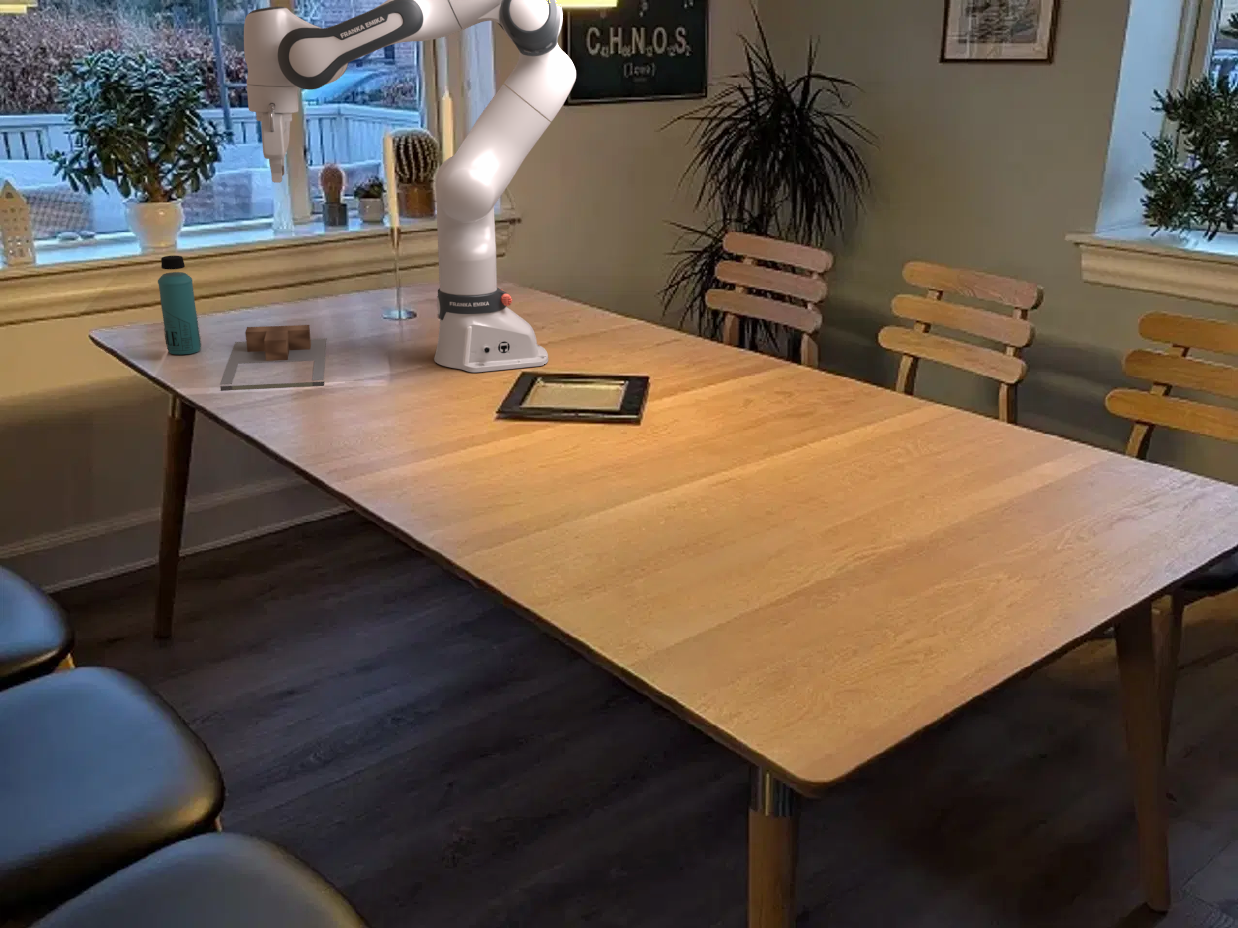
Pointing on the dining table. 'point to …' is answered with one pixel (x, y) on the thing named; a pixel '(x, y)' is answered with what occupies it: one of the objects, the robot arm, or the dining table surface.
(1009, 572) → the dining table surface
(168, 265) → the beverage bottle
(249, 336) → the t block
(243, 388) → the board
